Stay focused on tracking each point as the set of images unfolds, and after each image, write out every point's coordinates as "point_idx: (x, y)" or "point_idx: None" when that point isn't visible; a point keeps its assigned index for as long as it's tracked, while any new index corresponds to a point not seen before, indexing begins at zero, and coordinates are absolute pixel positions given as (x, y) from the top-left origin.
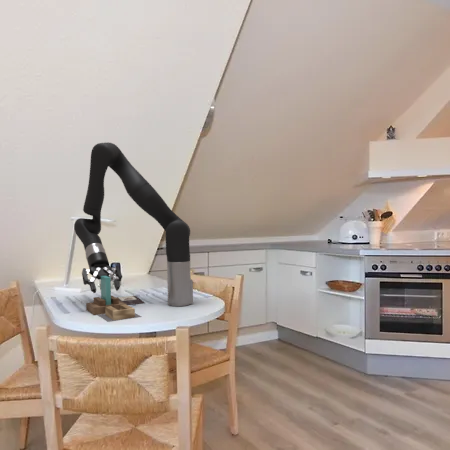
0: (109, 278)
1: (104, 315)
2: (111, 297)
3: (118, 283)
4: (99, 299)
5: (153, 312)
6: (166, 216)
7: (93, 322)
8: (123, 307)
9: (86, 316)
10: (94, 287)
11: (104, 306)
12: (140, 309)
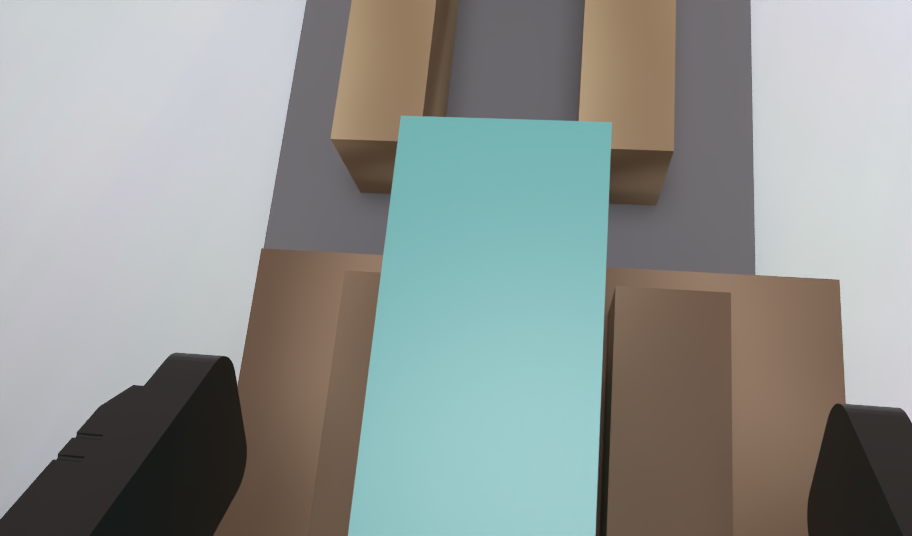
0: (449, 133)
1: (673, 197)
2: None
3: (76, 466)
4: (687, 455)
5: (85, 39)
6: None
7: (894, 5)
8: (437, 10)
9: (902, 391)
10: (907, 456)
11: (642, 272)
12: (87, 294)
